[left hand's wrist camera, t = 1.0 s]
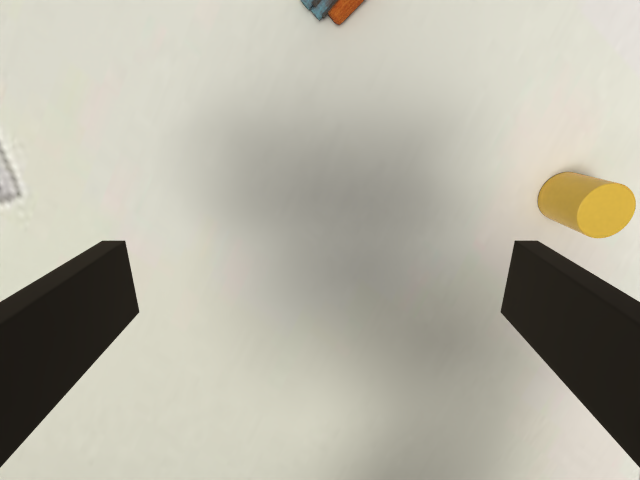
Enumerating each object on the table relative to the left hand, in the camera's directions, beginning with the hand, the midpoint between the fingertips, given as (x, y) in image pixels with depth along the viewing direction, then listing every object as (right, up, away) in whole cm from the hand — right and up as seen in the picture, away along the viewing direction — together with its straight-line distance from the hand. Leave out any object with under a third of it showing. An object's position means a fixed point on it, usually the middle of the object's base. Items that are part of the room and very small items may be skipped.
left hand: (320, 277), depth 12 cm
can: (+21, +5, +18) cm, 28 cm away
